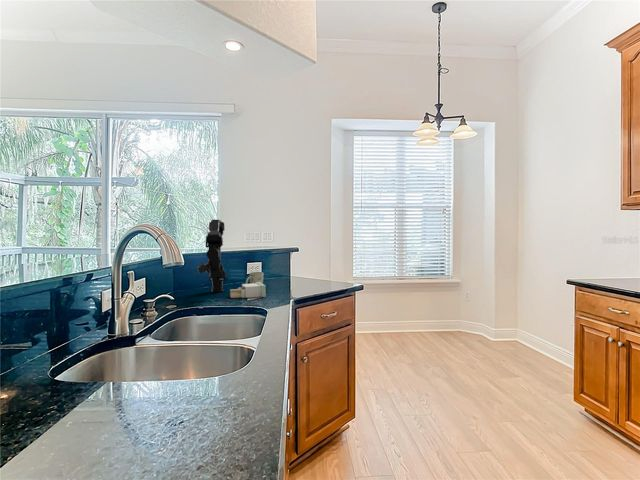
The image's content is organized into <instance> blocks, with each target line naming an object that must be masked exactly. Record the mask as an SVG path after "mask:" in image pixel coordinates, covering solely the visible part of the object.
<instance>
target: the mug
mask: <svg viewBox="0 0 640 480" xmlns="http://www.w3.org/2000/svg"><path fill="white" fill-rule="evenodd" d="M248 282H250V283H248ZM256 282H260V283H262V284H264V272H262V271H251V272H249V274H248V277H247V278H246V280H245V284H252V283H256Z"/></svg>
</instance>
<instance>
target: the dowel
mask: <svg viewBox="0 0 640 480" xmlns="http://www.w3.org/2000/svg"><path fill="white" fill-rule="evenodd" d="M241 290H243V289H238V288H235V289H229V298H232V299H233V298H234V299H235V298H242V295H241Z"/></svg>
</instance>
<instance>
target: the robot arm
mask: <svg viewBox="0 0 640 480" xmlns="http://www.w3.org/2000/svg"><path fill="white" fill-rule="evenodd" d="M208 230H209V232H207V236H205V248H208V250H207V252H206V257H207V258H208V259H207V263H203V264H199V266H197V267H196V268H197V272H198V274H203V273H204V272H206V274H207V276H208V278H209V282H211V285H212V286H211V290H210V291H211V292H212V293H222V292H223V293H224V292H225V290H224V289H223V288H224V286H223V282H225V281H227V273H226V271H225V270H224V266H223V264H222V262H221V261H222V260H221V258H222V257H221V256H222V253H221V248H222V246H224V245H223V243H224V238H223V235H224V232H225V222H224V221H222V220H220V219H211V221H210V222H208Z"/></svg>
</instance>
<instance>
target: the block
mask: <svg viewBox="0 0 640 480" xmlns="http://www.w3.org/2000/svg"><path fill="white" fill-rule="evenodd" d="M237 289H243V290H241V295H242V297H241V298H247V299H248V298H257V297H259V298H260V297H261V286H260V285H259V284H257V283H252V284H251V283H248V284H246V283H242V284H241V287H238V288H237Z"/></svg>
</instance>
